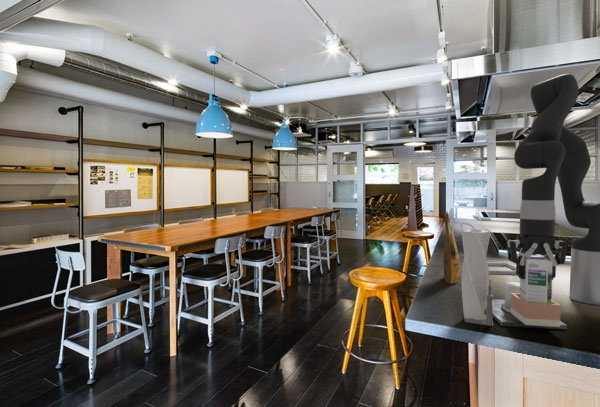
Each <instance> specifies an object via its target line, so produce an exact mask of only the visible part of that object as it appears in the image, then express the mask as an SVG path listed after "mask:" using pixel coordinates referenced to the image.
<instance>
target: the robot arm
mask: <svg viewBox="0 0 600 407" xmlns="http://www.w3.org/2000/svg"><path fill="white" fill-rule="evenodd" d="M579 90H580V88H579V85H578V81H577V78H576V77H575V76H574V75H573V74H571V73H565V74H560V75H557V76H554V77H552V78H549V79H546V80H544V81H541V82H539V83H536V84H534V85H532V87H531V88H530V99H531V101H532V105H533V108H534V110H535V114H536V115H537V116H536V118H535V119H534V120H533V122H532V124H531V127H530V130H529V133H527V135H526V137H525V138H524V139H522V141H521V142H520V143H519V144H518V146H517V147H516V149H515V152H514V156H513V159H514V163H515V164H516V166H517V167H518V168H520V169H525V170H531V169H545V171H544V172H543V173H542V174H541V175H537V176H533V177H529V178H525V179H523V181H522V183H521V200H520V202H521V203H520V210H519V237H518V239H514V240H513V239H507V240H506V241H505V242H506V243H505V244H506V249H507V251H506V252H507V259H508V261H510V262H512V264H513V263H514V264H515V266H516V276H517V277H518V278H519V280H520V279H525V266H524V264H525V263H526V258H527V259H529V258H530V257H531V256H537V255H539V256H541V257H545V258H548V259H550V260H552V281H554V279H555V278H556V276H557V275H556V274H557V272H556V271H557V266H559V265H564V264H565V262H566V258H567V251H568V246H569V243H568V242H567V241H563V240H555V234H556V204H555V203H556V202H555V199H556V198H555V197H556V196H555V193H556V191H555V190H556V182H557V181H558V185H559V188H560V192H561V197H562V198H561V199H562V204H563V208H564V209H563V210H564V215H565V219H566V221H567V222H568V224H569V225H571V227H574V228H579V229H588V231H587V235H585V236H583V237H578V238H573V239H572V240H571V245H570V247H571V248H570V271H569V272H570V273H569V278H570V279H569V299H571V300H574V302H575V301H576V302H579V303H581V304H582V303H583V304H588V305H595V306H600V201H596V200H594V201H593V200H586V199H585V198H584V195H583V192H582V191H583V190H582V189H583V188H582V185H583V182H584V180H585V178H586V176H587V174H588V172H589V170H590V166H591V161H592V160H591V156H590V152H589V148H588V146H587V143H586V141H585V140H584V139H583V138H582V137H581V136H579V134H578V133H575V131H572V130H571V129H569V128H568V127H566V125H565V126H564V123H565V121H566V118H567V117H568V115H569V114H570V112H571V110H572V109H573V107H574V105H575V104H576V102H577V100H578V98H579ZM518 245H519V246H520V247H521V249H520V250H519V252H518V253H517V248H519V246H518ZM552 248H555V251H554V253H553V252H552V250H551V249H552Z"/></svg>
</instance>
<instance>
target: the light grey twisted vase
mask: <svg viewBox="0 0 600 407" xmlns="http://www.w3.org/2000/svg"><path fill="white" fill-rule="evenodd" d="M459 225H460V229H461V237H462V248H463V255H464V258H463V261H462V262H463V263H462V269H461V298H462V299H461V300H462V309H463V312H462V314H463V320H464V322H465V323H468V324H477V325H482V326H483V325H484V326H490V327H494V322H493V317H492V314H493V310H492V299H493V298H494V295H493V294H492V285H491V281H492V280H491V279H490V274H489V270H490V269H489V266H488V263H487V262H488V259H487V253H488V249H489V243H490V239H491V238H490V237H491V230H490V229H488V228H485V227H479V226H478V227H475V226H474V225H472V224H470V223H468V222H459ZM463 225H467V226H470V229H468V230H464V229H463ZM486 303H487V306H486ZM485 308H486V311H485Z"/></svg>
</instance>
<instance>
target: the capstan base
mask: <svg viewBox="0 0 600 407" xmlns="http://www.w3.org/2000/svg"><path fill="white" fill-rule="evenodd" d="M486 306H487V303H486ZM492 310H493V314H492V319H494V320H495V321H496V322H497V323H498V324H499V325H500V326H501V327H515V328H530V329H531V328H533V329H551V330H563V331H565V330H567V329H568V324H565V323H564V322H562V321H561V320H560V327H554V326H536V325H525V324H524V323H523V322H521V321H520V320H519V319H518V318H516V317H515V316H514V315H513V314H511V309H510V308H508V307H506V306H505V299H493V298H492ZM485 312H486V308H485Z"/></svg>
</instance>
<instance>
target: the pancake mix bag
mask: <svg viewBox="0 0 600 407" xmlns="http://www.w3.org/2000/svg"><path fill="white" fill-rule="evenodd" d="M452 225H453V224H452V221H451V218H450V214H449V213H448V210H447V211H446V212H445V213H444V226H445V238H444V239H445V240H444V248H443V277H444V282H445V283H447V284H450V285H451V284H457V283H458V281H459V279H460V276H461V263H460V255H459V251H458V247H457V242H456V239H455V234H454V229H453V226H452Z"/></svg>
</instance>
